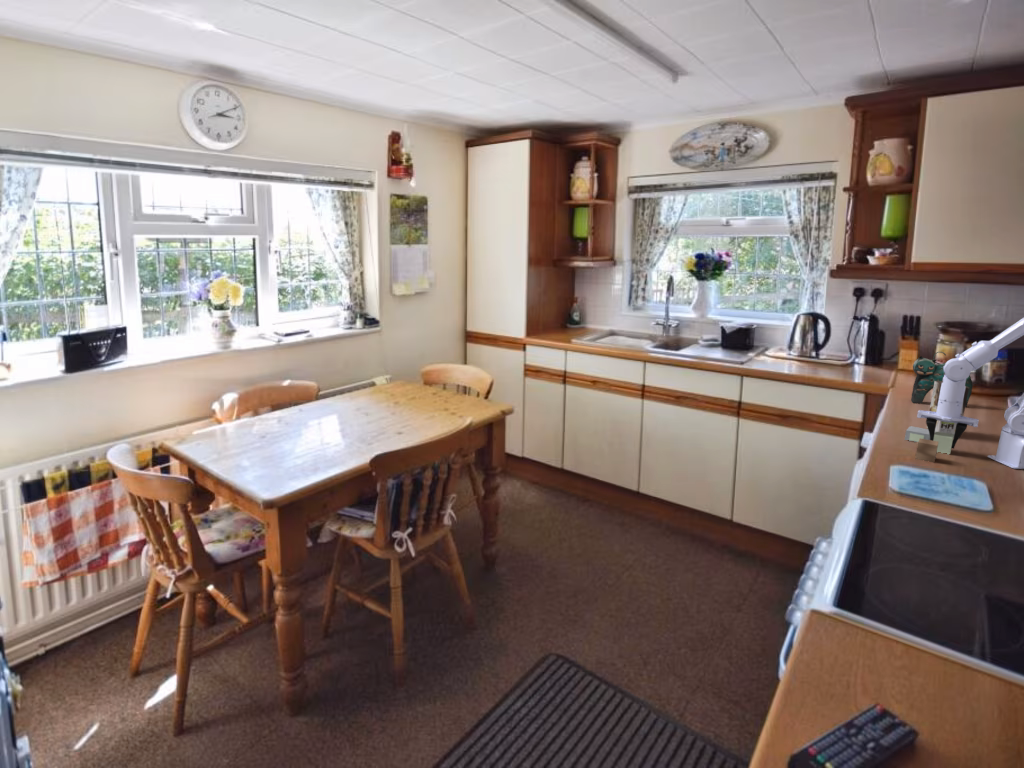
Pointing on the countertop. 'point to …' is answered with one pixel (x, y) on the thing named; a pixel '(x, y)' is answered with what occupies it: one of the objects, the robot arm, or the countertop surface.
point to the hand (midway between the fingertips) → (942, 445)
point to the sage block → (944, 441)
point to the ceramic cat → (930, 378)
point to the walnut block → (926, 450)
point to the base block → (916, 434)
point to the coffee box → (940, 425)
